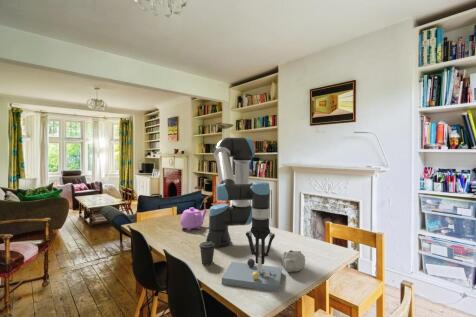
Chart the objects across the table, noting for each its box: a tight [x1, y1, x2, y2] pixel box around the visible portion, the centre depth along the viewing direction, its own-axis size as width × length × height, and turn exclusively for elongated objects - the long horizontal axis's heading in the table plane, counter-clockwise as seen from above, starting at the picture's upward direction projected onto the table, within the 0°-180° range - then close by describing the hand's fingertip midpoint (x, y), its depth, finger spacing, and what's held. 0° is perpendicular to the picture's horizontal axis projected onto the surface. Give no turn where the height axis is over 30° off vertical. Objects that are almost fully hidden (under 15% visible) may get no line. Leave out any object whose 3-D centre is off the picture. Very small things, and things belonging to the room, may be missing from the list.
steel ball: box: [263, 272, 271, 277], centre depth 106 cm, size 4×4×4 cm
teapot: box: [179, 207, 208, 232], centre depth 179 cm, size 20×20×15 cm
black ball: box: [246, 258, 256, 267], centre depth 113 cm, size 4×4×4 cm
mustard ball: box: [252, 272, 259, 280], centre depth 102 cm, size 3×3×3 cm
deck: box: [221, 261, 283, 293], centre depth 108 cm, size 24×16×2 cm, turn 76°
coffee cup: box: [198, 241, 216, 266], centre depth 122 cm, size 8×8×10 cm
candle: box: [281, 250, 306, 273], centre depth 117 cm, size 9×11×15 cm
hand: (259, 270), depth 107 cm, fingers closed
